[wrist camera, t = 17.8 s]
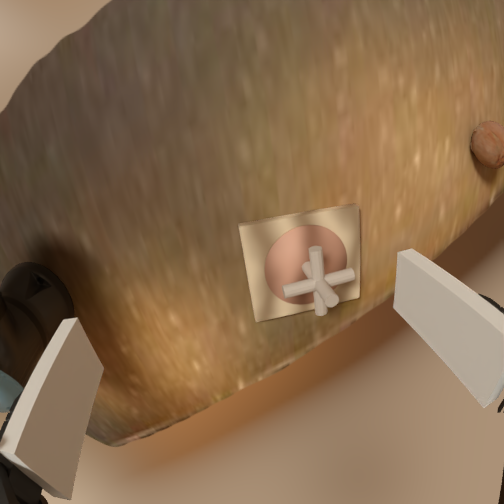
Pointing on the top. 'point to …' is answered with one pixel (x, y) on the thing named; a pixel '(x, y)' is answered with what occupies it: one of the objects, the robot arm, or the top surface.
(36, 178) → the top surface
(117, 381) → the top surface
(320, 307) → the grey toy jack
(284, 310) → the board
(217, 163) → the top surface
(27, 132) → the top surface
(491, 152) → the onion
